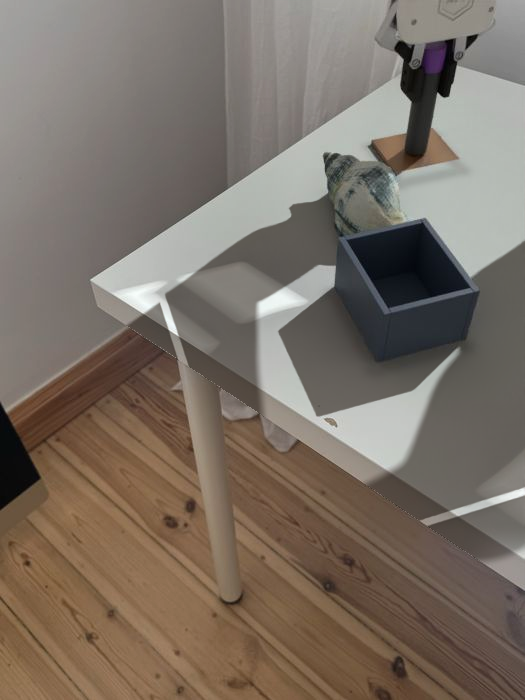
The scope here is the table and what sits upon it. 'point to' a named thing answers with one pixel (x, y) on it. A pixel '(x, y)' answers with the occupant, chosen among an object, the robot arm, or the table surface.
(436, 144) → the coaster
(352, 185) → the seashell
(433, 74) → the marker
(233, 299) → the table surface
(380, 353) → the bin
